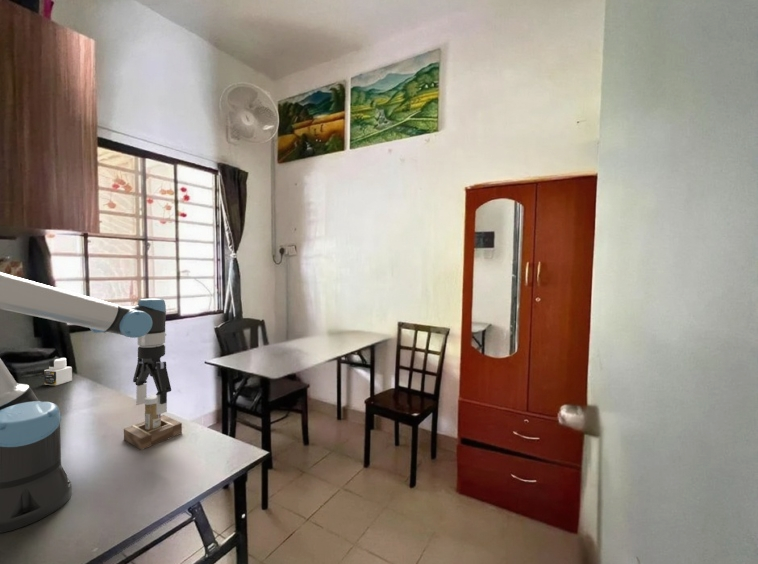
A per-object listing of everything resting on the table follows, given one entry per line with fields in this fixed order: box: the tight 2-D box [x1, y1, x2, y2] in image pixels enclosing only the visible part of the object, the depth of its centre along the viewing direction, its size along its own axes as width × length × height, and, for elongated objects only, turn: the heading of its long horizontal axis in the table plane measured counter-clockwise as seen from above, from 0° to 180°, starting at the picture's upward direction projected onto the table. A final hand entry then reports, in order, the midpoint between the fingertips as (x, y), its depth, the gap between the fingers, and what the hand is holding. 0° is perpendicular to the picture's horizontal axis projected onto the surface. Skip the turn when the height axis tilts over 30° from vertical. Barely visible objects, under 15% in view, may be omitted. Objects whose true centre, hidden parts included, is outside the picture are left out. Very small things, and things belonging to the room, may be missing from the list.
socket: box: [123, 414, 183, 451], centre depth 108 cm, size 12×12×4 cm
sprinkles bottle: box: [143, 394, 162, 432], centre depth 108 cm, size 5×5×14 cm
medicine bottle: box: [43, 357, 73, 386], centre depth 159 cm, size 7×7×12 cm
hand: (151, 408), depth 108 cm, fingers open, 13 cm apart
